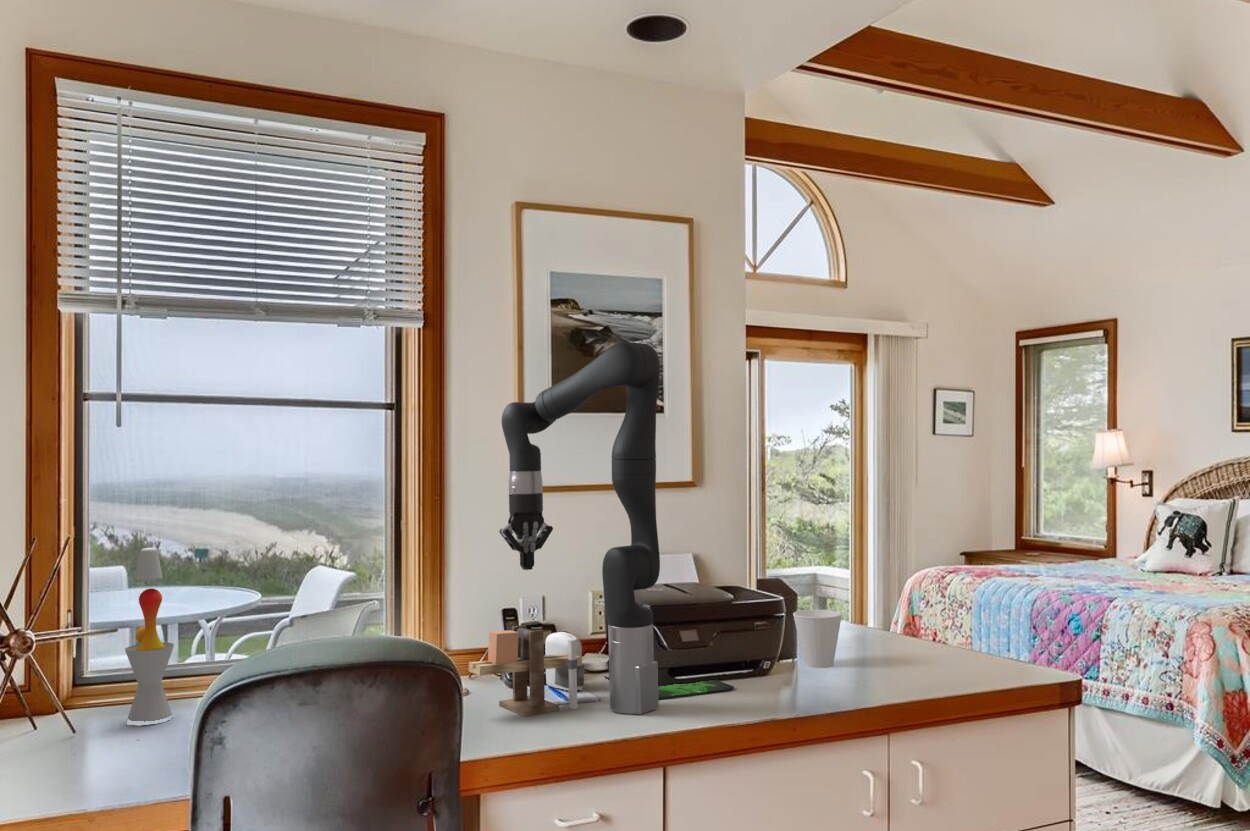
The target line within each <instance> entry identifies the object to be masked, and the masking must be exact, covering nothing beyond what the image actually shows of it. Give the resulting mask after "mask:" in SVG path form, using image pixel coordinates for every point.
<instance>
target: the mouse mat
mask: <svg viewBox="0 0 1250 831" xmlns="http://www.w3.org/2000/svg"><path fill="white" fill-rule="evenodd" d="M606 676H607V675H605V676H603V678H604V677H605V680H607V679H608V680H607V681H609V677H606ZM714 679H715V678H714ZM734 689H735V686H734V685H732V684H728V683H725V682H723V681H721V680H719V679H715V680H709V681H700V682H696V683H690V684H673V685H667V686H658V696H659V701H660V700H667V699H674V698H675V699H676V698H683V697H693V696H699V695H706V694H714V693H715V694H716V693H723V692H729V691H730V692H731V691H732V690H734Z"/></svg>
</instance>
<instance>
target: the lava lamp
mask: <svg viewBox="0 0 1250 831" xmlns="http://www.w3.org/2000/svg"><path fill="white" fill-rule="evenodd" d="M162 572H163V571H162V565H161V562H160V556H159V550H158V549H157V548H156V547H145V548H142V549H141V550H140V554H139V559H138V564H137V572H136V578H135V580H136V581H153V580H159V579H161V580H162V579H163V573H162ZM162 602H163V596H162V593H161V591H159V590H158V589H156V588H147V589H144V590H143V591H142V592H141V593H140V594H139V597H138V604H139V606H140V609H141V611H142V612H141V613H142V615H143V620H144V626H142V627H139V628H138V629H137V631H136V632H135V640H136V641H137V642H138V644H135V645H129V646H127V647H125V648H124V650H125V653H126V656H127V659H128V661H129V664H130V666H131V667H130V668H131V669H132V672H133V674H134V678H135V680H136V683H137V684H138V685H137V687H136V690H135V694H134V697H133V699H132V704H131V707H130V709H129V713H128V716H127V719H129V720H131V721H144V722H145V721H155V720H160V719H164V718H167V717H169V716H171V715H173V713H172V709H171V707H170V704H169V701H168V698H167V695H166V691H165V688H164V687H163V684H162V681H163V678H164V675H165V673H166V669H167V666H168V664H169V661H170V658H171V655H172V653H173V650H174V647H175V644H174V643H172V642H163V641H162V640H161V639H160V637H159V635H158V634H159V633H158V631H157V617H158V613H159V610H160V607H161V604H162Z"/></svg>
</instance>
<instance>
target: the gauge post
mask: <svg viewBox="0 0 1250 831" xmlns="http://www.w3.org/2000/svg"><path fill="white" fill-rule="evenodd" d="M567 668H569V691H568V708H569V709H570V708H571V710H575V709H574V708H577V709H578V691H577V659H576V640H574V639H571V640H568V659H567Z"/></svg>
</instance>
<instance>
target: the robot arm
mask: <svg viewBox="0 0 1250 831" xmlns="http://www.w3.org/2000/svg"><path fill="white" fill-rule="evenodd" d="M660 363H661V362H660V357H659V355H658V353H657V351H656V349H655V348H654V347H653V346H651V345H649V344H647V343H641V342H633V341H620V342H616V343H615V344H613V345H611V346H610V347H609V348H607V349H605V351H603V352H602V353H601V354H600V355H598V356H597V357H596V358H595V359H593V360H592V361H590V362H589V363H587V365H585V366H583V368H581V369H579V370H578V371H577V372H575V373H574V374H572V375H570V376H568V377H567V378H565V379H563V380H561V381H559V382H557V383H555V384H553V385H552V386H550V387H548V388H546V389H544V390H542V391H541V392H540V393H538V395H537V396H536V397H535V400H534V401H533V402H521V401H520V402H519V401H518V402H517V401H516V402H510V403H509V404H507V405H506V406H505V407H504V409H503V411H502V414H501V428H502V432H503V435H504V439H505V444H506V447H507V450H508V453H509V477H508V508H509V509H508V512H509V518H508V521H507V523H508V524H507V525H505V527H504V528H500V529H499V531H498V532H499V534H500V535H501V537H502V538H503V540H504V541H505V542H506V543H507V544H508V546H509V548H510V549H511V551H517V552H519V566H520V567H521V569H522V570H523V571H530V570H531V571H532V570H533V568H534V567H535V553H536V551H537V550H541V549H542V547H544V545H545V543H546V541H547V540H548V538H549V537H550V535H551V533H552V532H553V530H554V527H553V526H552V525H548V524H547V523H546V522H545V518H544V515H543V512H544V511H543V510H544V501H543V500H544V499H543V498H544V494H543V488H544V487H543V476H542V460H541V459H542V458H541V457H542V456H541V455H542V453H541V448H540V447H539V446H538V445H535V444H532V443H531V441H530V439H529V438H530V437H529V434H530V435H534V434H538V433H541V432H543V431H545V430H547V429H548V428H549V427H550V426H551V425H552V424H554V423H555V422H556V421H557V420H559V419H561V418H563V417H565V416H567V415H569V414H571V413H573V412H575V411H576V410H578V409H580V408H581V407H582V406H583V405H584V404H586V402H588V400H589V399H590V398H591V397H592V396H593V395H595V394H597V393H599V392H601V391H603V390H606V389H611V388H613V387H619V386H621V387H626V409H625V412H624V413H625V414H624V417H623V420H622V423H621V425H620V427H619V430H618V432H617V434H616V437H615V440H614V442H613V446H612V449H611V482H612V486H613V488H614V492H615V493H616V495H617V497H618V499H619V502H620V503H621V505H622V506H623V508H624V511H625V512H626V514H627V517H628V519H629V524H630V536H631V537H630V538H631V541H630V542H631V543H630V545H624V546H616V547H615V546H614V547H611V548H609V549H608V550H607V552H606V553H605V554H604V557H603V560H602V574H601V575H602V586H603V600H604V601H603V603H604V609H605V612H606V615H607V628H608V629H607V630H608V672H609V673H608V675H609V680H608V682H609V709H610V710H611V711H612V712H614V713H619V714H636V715H643V714H645V713H648V712H651V711H654V710H657V709H659V708H660V704H659V703H660V702H659V701H660V700H659V696H658V670H659V665H658V664H659V663H658V661H657V660H654V620H653V619H654V616H653V611H652V609H651V608H650V607H649V608H648V607H646V606H643V605H641V604H638V603H637V602H636V598H635V597H636V596H635V591H639V590H646V589H650V588H652V587H653V586H655V585H656V583H657V581H659V580H658V579H659V576H660V570H661V558H660V557H661V556H660V546H659V536H658V535H659V534H658V524H657V502H656V500H657V499H656V498H657V497H656V495H657V494H656V488H657V487H656V485H657V484H656V480H657V453H656V452H657V450H656V442H657V441H656V438H657V437H656V435H657V407H658V406H657V405H658V394H659V386H660V375H661V364H660ZM513 534H514V535H515V536H516V538H515V536H514V535H513Z"/></svg>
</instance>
